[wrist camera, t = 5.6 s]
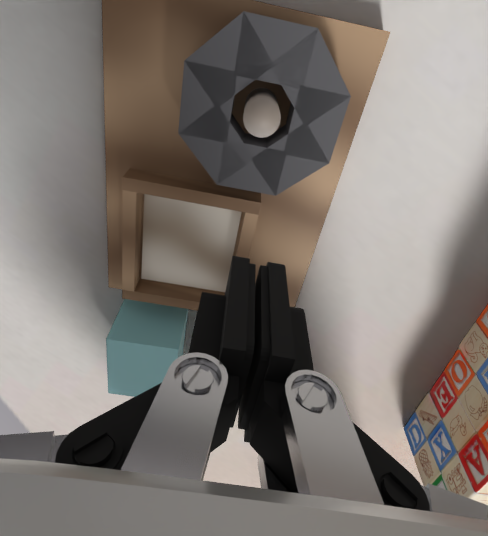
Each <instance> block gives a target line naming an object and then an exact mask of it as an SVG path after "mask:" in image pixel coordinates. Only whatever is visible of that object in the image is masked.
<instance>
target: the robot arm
mask: <svg viewBox="0 0 488 536" xmlns="http://www.w3.org/2000/svg"><path fill="white" fill-rule="evenodd" d="M255 273H256V264H252V263H250V259H249V258H244V257H238V256H233V257H232V261H231V266H230V271H229V276H228V281H227V286H226V291H225V295H219V294H213V293H207V292H202V294H201V298H200V303H199V308H198V312H197V317H196V321H195V326H194V331H193V335H192V340H191V345H190V349H189V353H188V354H185V355H182V356H180V357H178V358H177V359H176V360H174V361H173V363H172V364H171V365H170V367H169V369H168V371H167V373H166V375H165V377H164V379H163V381H162V383H160V384H158V385H156V386H154V387H152V388H151V389H149V390H147V391H145V392H143V393H141V394H139V395H138V396H136V397H134V398H132V399H130V400H128V401H126V402H124V403H123V404H121V405H119V406H117V407H115V408H113V409H111V410H109V411H108V412H106V413H104V414H102V415H100V416H98V417H96V418H95V419H93V420H91V421H89V422H87V423H85V424H83V425H81V426H80V427H78V428H77V429H75V430H74V431H72V432H71V433H69V434H68V435H58V436H55V435H54V431H51V432H38V433H24V434H11V435H0V536H488V505H486V504H483V503H480V502H478V501H475V500H472V499H469V498H467V497H464V496H461V495H459V494H456V493H453V492H451V491H448V490H445V489H443V488H440V487H437V486H435V485H432V484H429V483H428V484H427V485H426V486H425V487H424V486H422V485H420V483H419V482H418V481H417V480H416V479H415V477H414V476H413V475H412V474H411V473H410V472H409V471H407V470H406V469H405V468H404V467H403V466H402V465H401V464H400V463H398V462H397V461H396V460H395V459H394V458H393V457H392V456H390V455H389V454H388V453H387V452H386V451H385V450H384V449H383V448H381V447H380V446H379V445H378V444H377V443H376V442H375V441H374V440H372V439H371V438H370V437H369V436H368V435H367V434H366V433H364V432H363V431H362V430H361V429H360V428H359V427H358V426H357V425H355V424H354V423H353V422H352V420H351V417H350V415H349V412H348V410H347V407H346V404H345V402H344V399H343V397H342V394H341V392H340V390H339V389H338V387H337V386H336V384H335V383H334V382H333V381H332V380H331V379H329V378H328V377H326V376H325V375H323V374H321V373H319V372H316V371H314V370H313V363H312V357H311V351H310V344H309V338H308V332H307V325H306V319H305V313H304V310H303V309H301V308H295V307H290V304H289V295H288V286H287V277H286V268H285V265H283V264H277V263H272V262H267V265H266V266H263V265H260V268H259V271H258V275H257V279H256V283H255ZM238 408H239V418H238V428H239V429H245V434H244V442H250V445H251V446H252V447H253V448H254V450H255V451H256V452H257V453H258V454H259V455H258V469H259V476H260V483H261V488H254V487H247V486H239V485H232V484H224V483H216V482H209V481H203V478H204V474H205V471H206V467H207V463H208V460H209V456H210V452H212V451H213V450H214V449H216V448H217V447H218V446H220V445H221V444H222V443H224V442H225V441H226V439H227V435H228V432H229V428H230V427H233V425H234V422H235V418H236V415H237V411H238Z"/></svg>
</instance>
